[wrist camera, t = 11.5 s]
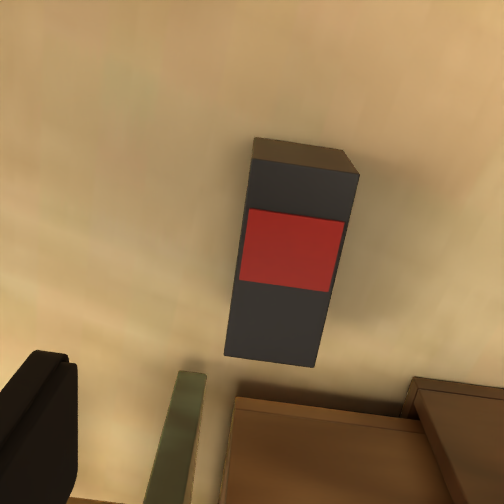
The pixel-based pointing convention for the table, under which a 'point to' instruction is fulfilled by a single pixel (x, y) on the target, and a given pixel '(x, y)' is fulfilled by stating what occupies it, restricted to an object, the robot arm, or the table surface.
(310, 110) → the table surface
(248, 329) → the black and red block
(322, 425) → the drawer
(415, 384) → the cabinet
